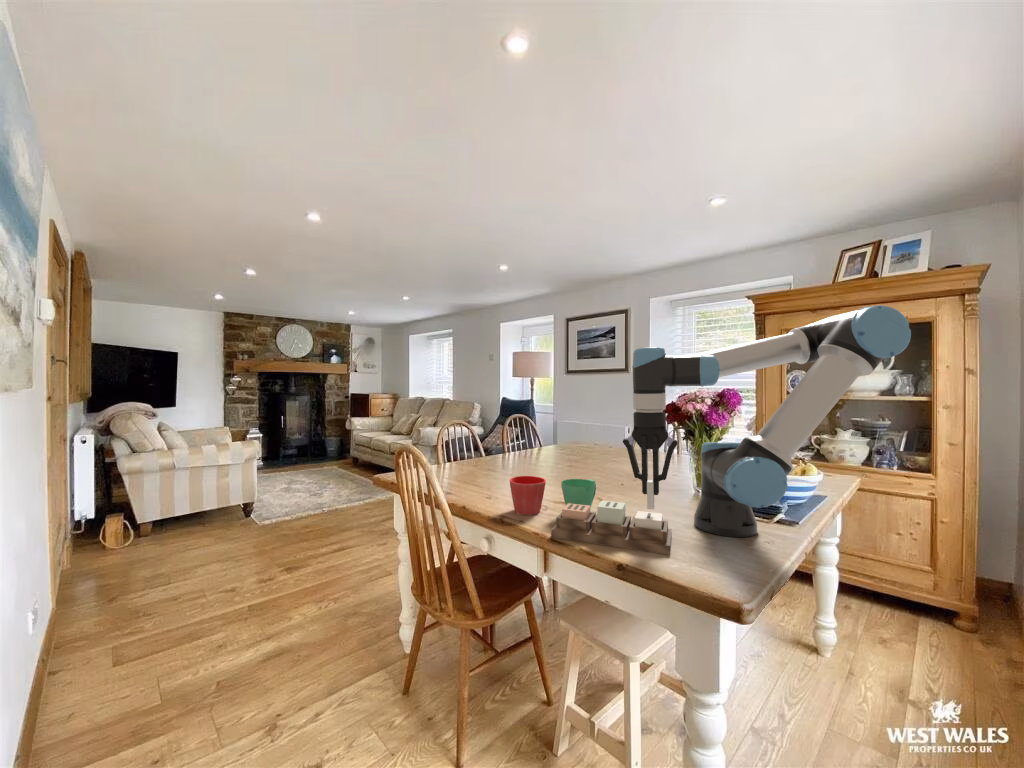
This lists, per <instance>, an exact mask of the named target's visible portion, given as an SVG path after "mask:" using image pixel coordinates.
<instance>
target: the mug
mask: <svg viewBox="0 0 1024 768" xmlns="http://www.w3.org/2000/svg"><path fill="white" fill-rule="evenodd" d="M560 484H561V485H560V486H561V491H562V495H563V499H564V504H565V506H566V505H567V504H568V503H571V504H580V505H589V506H590V509H591V507H592V505H593V502H594V499H595V496H596V488H597V485H596V481H595V480H594V479H592V478H588V479H583V478H569V479H564V480H562V481H561V483H560Z"/></svg>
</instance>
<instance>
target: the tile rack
mask: <svg viewBox="0 0 1024 768" xmlns="http://www.w3.org/2000/svg"><path fill="white" fill-rule="evenodd" d="M555 520H556V524H555V525H554V526H553V527H552V528H551V530H550V531H551V532H550V535H551V537H550V538H553V539H560V540H566V541H572V542H580V543H588V544H595V545H599V546H605V547H607V546H608V547H615V548H621V549H627V550H628V549H629V550H635V551H641V552H649V553H656V554H661V555H662V554H663V555H668V556H669V555H671V548H672V537H673V536H672V534H673V533H672V532H673V531H672V528H669V520H664V519H663V530H657V529H649V528H641V527H635V516H633V517H631V516H628V515H625V521H624V523H623V525H617V524H609V523H601V522H597V513H596V512H595V511H590V517H589V518H588V519H587V521H585V520H578V519H570V518H562V512H561V513H559V514H558V515H557V516H556V518H555Z"/></svg>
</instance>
